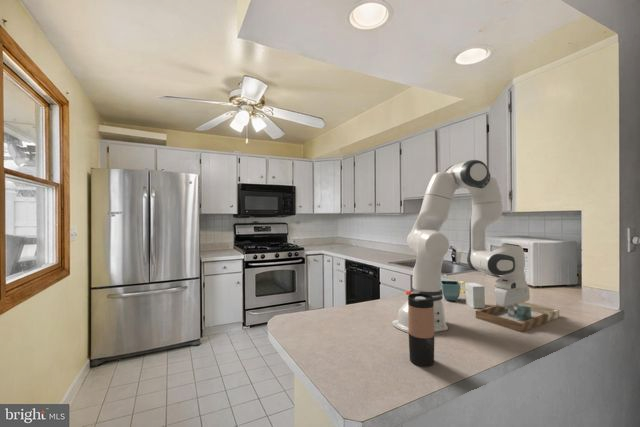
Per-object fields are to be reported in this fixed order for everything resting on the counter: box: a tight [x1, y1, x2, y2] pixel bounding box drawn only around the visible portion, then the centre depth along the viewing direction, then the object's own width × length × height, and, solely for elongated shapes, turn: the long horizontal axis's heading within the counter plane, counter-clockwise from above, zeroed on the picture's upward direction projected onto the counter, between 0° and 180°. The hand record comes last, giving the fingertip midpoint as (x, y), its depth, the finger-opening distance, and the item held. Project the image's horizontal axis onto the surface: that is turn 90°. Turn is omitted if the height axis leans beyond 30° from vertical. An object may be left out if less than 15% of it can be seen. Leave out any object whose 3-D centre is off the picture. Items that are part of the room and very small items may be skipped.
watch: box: [459, 280, 466, 293], centre depth 168 cm, size 6×3×6 cm, turn 20°
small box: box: [464, 282, 486, 309], centre depth 142 cm, size 8×6×10 cm
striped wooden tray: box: [475, 301, 560, 333], centre depth 126 cm, size 31×18×3 cm, turn 119°
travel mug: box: [407, 293, 435, 368], centre depth 90 cm, size 8×8×20 cm
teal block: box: [507, 304, 532, 321], centre depth 127 cm, size 6×6×4 cm
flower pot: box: [441, 280, 461, 302], centre depth 153 cm, size 9×9×9 cm
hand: (513, 313), depth 124 cm, fingers closed
